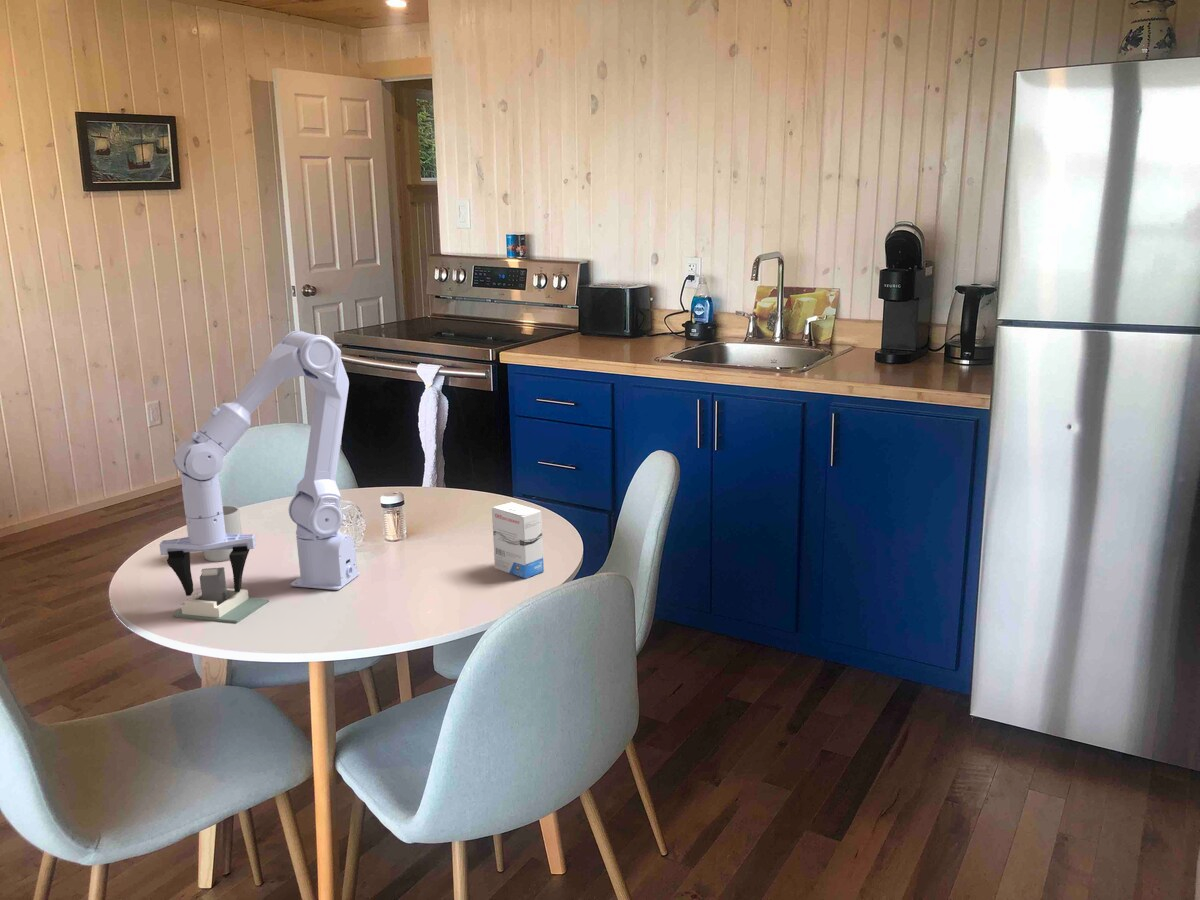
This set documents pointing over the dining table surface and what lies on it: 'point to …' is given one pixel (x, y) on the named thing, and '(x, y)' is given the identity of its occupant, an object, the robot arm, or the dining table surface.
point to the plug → (213, 585)
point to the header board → (221, 607)
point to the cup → (231, 527)
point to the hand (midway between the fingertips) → (214, 591)
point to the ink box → (518, 539)
